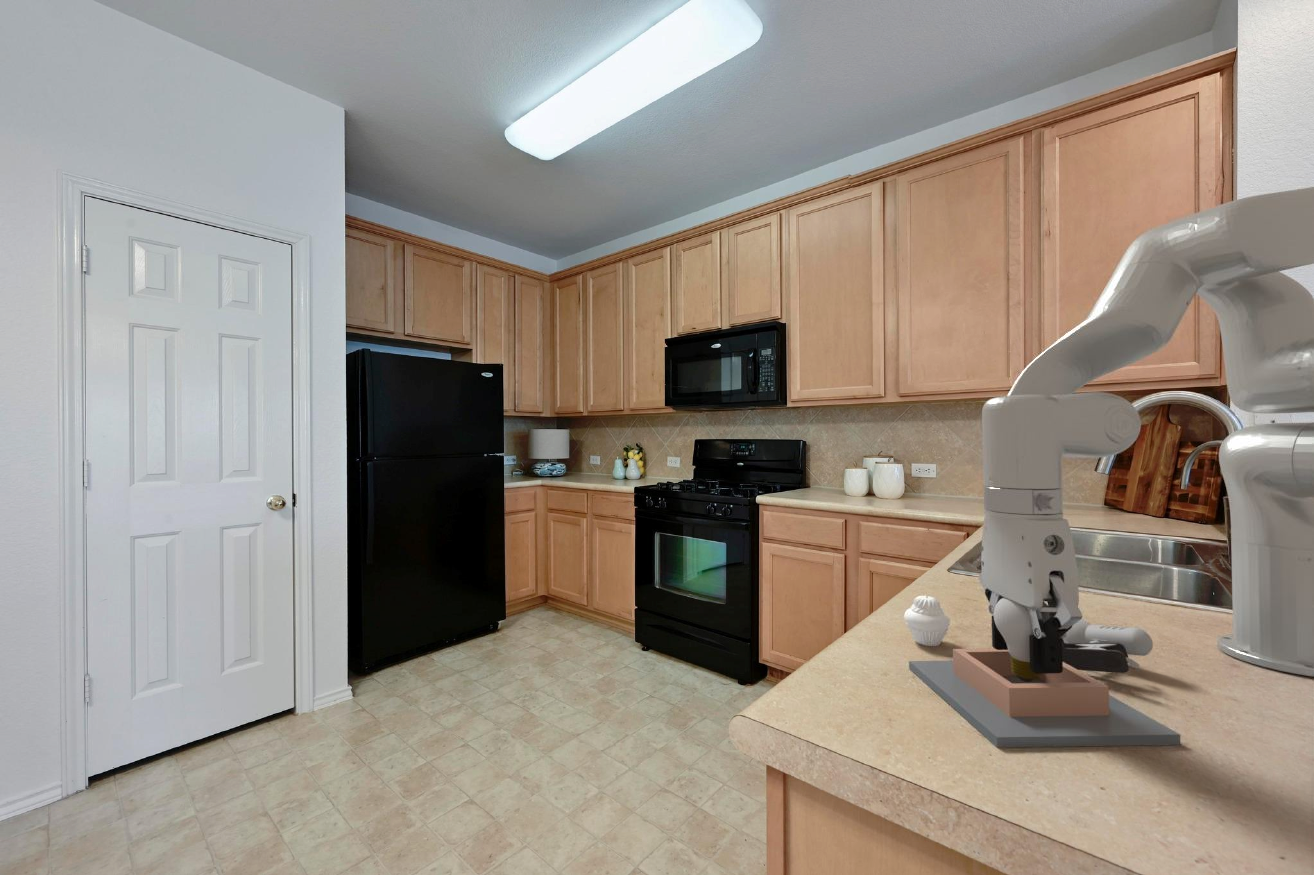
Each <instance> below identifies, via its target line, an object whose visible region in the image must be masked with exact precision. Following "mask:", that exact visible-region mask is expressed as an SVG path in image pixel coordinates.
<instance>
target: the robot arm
mask: <svg viewBox="0 0 1314 875" xmlns="http://www.w3.org/2000/svg"><path fill="white" fill-rule="evenodd" d="M1309 265H1314V186H1311V187H1310V186H1309V187H1304V188H1303V187H1302V188H1297V189H1292V190H1291V189H1290V190H1285V191H1276V192H1271V193H1270V192H1269V193H1264V194H1257V195H1253V196H1245V197H1242V198H1239V199H1235V200H1232V201H1231V200H1230V201H1228V202H1225V203H1222V204H1219V205H1215V206H1214V207H1210V208H1207V209H1204V210H1202V211H1199V212H1196V213H1192V214H1190V215H1186V216H1183V217H1180V218H1178V219H1175V220H1172V221H1169V222H1166V223H1164V224H1161V225H1158V226H1156V227H1154V228H1151V229H1150V230H1147V231H1146V232H1143V233H1142V234H1140V235H1139V236H1138V237H1136V238H1135V239H1134V241H1132V243H1131V244H1130V245H1129V246H1128V247H1127V250H1126V251H1125V252H1124V253H1123V255H1122V258H1121V259H1120V260H1119V262H1118V264H1117V266H1116V268H1115V269H1114V271H1113V273H1112V275H1111V276H1110V278H1109V280H1108V281H1107V283H1106V285H1105V287H1104V289H1103V291H1102V292H1101V294H1100V296H1099V298H1098V299H1097V301H1096V302H1095V304H1094V306H1093V308H1092V309H1091V311H1090V313H1089V314H1088V316H1087V317H1086V318H1085V319H1084V320H1083V321H1082V322H1080V323H1079V324H1078V325H1077V326H1075V327H1073V328H1072V329H1071V330H1070V331H1068V332H1067V333H1065V334H1064V335H1063V336H1062V337H1060V338H1059V339H1058V340H1056V341H1055V342H1054V343H1053V344H1052V345H1050V346H1049V347H1048V348H1047V349H1045V350H1044V351H1042V352H1041V353H1039V355H1038V356H1037V357H1035V358H1034V359H1033V360H1032V361H1031V362H1030V363H1029V364H1028V365H1027V366H1026V367H1025V368H1024V369H1023V371H1022V372H1021V373H1020V374H1019V375H1018V377H1017V379H1015V381H1014V383H1013V385H1012V387H1011V388H1010V390H1009V392H1008V394H1007V395H1002V396H996V397H992V398H990V399H988V400H987V401H986V402H985V403H984V404H983V407H982V409H981V410H982V412H981V418H982V419H981V422H982V425H981V426H982V427H981V428H982V432H981V433H982V465H983V466H982V467H983V468H982V469H983V470H982V471H983V475H982V476H983V477H982V478H983V480H982V481H983V508H984V509H983V513H984V518H983V519H984V520H983V526H982V537H981V539H982V540H981V557H980V558H981V560H980V561H981V563H980V564H981V572H980V574H979V575H978V580H979V583H980V585H981V587H982V588H983V590H984V595H985V597H986V599H987V601H988V612H989V613H990V615H991V624H992V627H991V645H992V647H993V648H995V649H996V650H1008V647H1007V644H1006V641H1005V640H1004V638H1003V636H1002V635H1001V633H1000V632H999V630H998V629H997V627H996V624H995V621H994V609H995V606H996V604H997V603H998V601H999V600H1000V599H1002V598H1003V597H1005V598H1008V599H1010V600H1012V601H1014V602H1016V603H1018V604H1020V605H1022V606H1024V607H1027V608H1028V612H1029V616H1030V620H1031V624H1032V628H1033V632H1034V635H1029V649H1030V670H1031V671H1032V672H1034V673H1036V674H1049V673H1061V672H1062V671H1063V658H1062V638H1065V637H1066V636H1067V633H1066V632H1067V631H1069V630H1070V629H1071V628H1072V625H1074V624H1076V623H1077V622H1078V621H1080V620H1081V619H1083V613H1082V612H1081V610H1080V608H1079V602H1080V597H1079V596H1080V593H1079V592H1080V591H1079V590H1080V589H1079V577H1078V576H1079V575H1078V565H1077V558H1076V551H1075V545H1074V540H1073V536H1072V531H1071V527H1070V525H1069V520H1068V519H1067V518H1064V495H1063V494H1064V490H1063V488H1064V485H1063V484H1064V483H1063V481H1064V480H1063V458H1065V457H1066V458H1081V459H1082V458H1084V459H1085V458H1087V459H1090V458H1094V459H1096V458H1105V457H1106V458H1107V457H1108V458H1109V457H1111V456H1115V455H1117V454H1121V453H1123V452H1124V451H1126V450H1127V449H1129V448H1130V447H1132V445H1134V443H1135V442H1136V441H1137V439H1138V437H1139V435H1140V432H1141V428H1142V423H1141V422H1142V421H1141V416H1140V414H1139V412H1138V410H1137V408H1135V406H1134V405H1133V404H1132V403H1131V402H1130V401H1128V400H1127V399H1125V398H1124V397H1121V396H1119V395H1116V394H1113V393H1110V392H1109V393H1108V392H1104V391H1103V392H1102V391H1093V392H1090V391H1089V392H1080V393H1079V392H1078V393H1075V392H1077V391H1078V390H1079V389H1081V388H1083V387H1085V385H1088V384H1089V383H1092V382H1093V381H1095V380H1097V379H1099V378H1101V377H1103V376H1105V375H1108V374H1111V373H1113V372H1115V371H1118V370H1121V369H1122V368H1126V367H1128V366H1130V365H1132V364H1135V363H1137V362H1138V361H1141V360H1143V359H1145V358H1147V357H1148V356H1150V355H1153V354H1155V353H1156V352H1159V351H1160V350H1162V349H1163V348H1164V347H1166V345H1168V344H1169V342H1170V341H1171V339H1173V337H1174V334H1175V333H1176V330H1177V329H1178V327H1179V325H1180V323H1181V322H1182V320H1183V317H1184V316H1185V313H1186V312H1187V310H1188V308H1189V306H1190V305H1191V303H1192V301H1193V299H1194V297H1195V295H1197V296H1199V297H1200V298H1201V299H1203V300H1204V301H1205V303H1206V304H1208V305H1209V307H1210V308H1211V310H1213V312H1214V313H1215V315H1216V318H1217V321H1218V324H1219V330H1220V337H1221V342H1222V343H1221V345H1222V346H1221V347H1222V352H1223V362H1224V370H1225V377H1226V378H1225V379H1226V386H1227V391H1228V395H1229V399H1230V400H1231V403H1232V404H1233V405H1234V406H1235V407H1236V408H1238V410H1241V411H1244V412H1247V413H1253V414H1299V413H1300V414H1302V413H1305V414H1306V413H1314V297H1313V295H1312V292H1310V291H1309V290H1308V289H1307V288H1306V287H1305V286H1303V284H1301V283H1300V282H1298V281H1296V280H1295V279H1293V278H1292V277H1290V276H1289V275H1287V274H1284V273H1283V272H1281V271H1287V270H1291V269H1294V268H1296V269H1297V268H1300V267H1305V266H1309ZM1218 462H1219V467H1220V471H1221V474H1222V478H1223V481H1224V484H1225V487H1226V492H1227V497H1228V504H1229V511H1230V512H1229V513H1230V534H1231V535H1230V538H1231V539H1230V540H1231V542H1230V543H1231V544H1230V545H1231V547H1230V548H1231V593H1232V634H1231V633H1230V634H1222V635H1221V636H1220V635H1219V637H1217V640H1216V641H1217V647H1218V649H1219V650H1220V651H1222V652H1223V653H1225V654H1227V655H1229V656H1231V657H1233V658H1236V659H1238V660H1241V661H1243V662H1245V663H1246V662H1247V663H1250V664H1253V665H1257V666H1261V667H1263V668H1268V669H1271V670H1276V671H1279V672H1284V673H1290V674H1294V675H1301V676H1307V677H1312V678H1313V677H1314V422H1312V421H1311V422H1279V423H1265V424H1262V423H1261V424H1257V425H1250V426H1245V427H1243V428H1239V429H1237V430H1235V431H1233V432H1231V433H1230V434H1229V435H1227V436H1226V437H1225V438H1224V439H1223V441H1222V442H1221V444H1220V447H1219V450H1218ZM1043 601H1044V602H1046V604H1047V605H1048V607H1043V606H1044V605H1043ZM1041 613H1049V616H1050V618H1049V619H1048V620H1047V621H1046V622H1044V623H1043V620H1042V616H1041Z"/></svg>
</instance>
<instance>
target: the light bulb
mask: <svg viewBox="0 0 1314 875" xmlns="http://www.w3.org/2000/svg"><path fill="white" fill-rule="evenodd" d="M1043 605H1044V606H1043V607H1048V603H1047V602H1046V601H1043ZM1041 616H1042V620H1043V623H1044V622H1046V621H1047V620H1048V619H1049V618H1050V616H1049V613H1041ZM994 621H995V624H996V627H997V629H998V630H999V632H1000V633H1001V635H1002V636H1003V638H1004V640H1005V641H1006V644H1007V647H1008V651H1009V653H1010V655H1011V663H1012V664H1011V666H1012V667H1011V668H1012V673H1013V674H1015V675H1016V676H1017V677H1018V678H1019V679H1020V680H1022V681H1025V682H1030V681H1032V680H1034V679H1036V678H1039V674H1036V673H1034V672H1032V671H1031V670H1030V649H1029V635H1034V632H1033V628H1032V624H1031V620H1030V616H1029V612H1028V608H1027V607H1024V606H1022V605H1020V604H1018V603H1016V602H1014V601H1012V600H1010V599H1008V598H1005V597H1003V598H1002V599H1000V600H999V601H998V603H997V604H996V606H995V609H994Z"/></svg>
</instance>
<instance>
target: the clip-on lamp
mask: <svg viewBox="0 0 1314 875" xmlns="http://www.w3.org/2000/svg"><path fill="white" fill-rule="evenodd" d="M990 627H991V628H992V623H991V624H990ZM1066 633H1067V636H1066V637H1065V638H1062V658H1063V662H1064V663H1066V664H1068V665H1070V666H1072V667H1073V668H1075V669H1077V670H1079V671H1087V672H1100V673H1101V672H1102V673H1113V674H1115V673H1116V674H1127V673H1128V672H1129V670H1130V666H1129V665H1131V666H1132V667H1133V668H1134V669H1136V670H1137V669H1139V668H1140V664H1139V663H1137V662H1136V661H1135V660H1134V659H1132V658H1129V655H1130V656H1140V657H1141V656H1142V657H1145V656H1148V655H1150V653H1151V652H1152V650H1153V648H1154V643H1153V640H1152V637H1151V636H1150V634H1149V633H1147V632H1146V631H1145V630H1144V629H1142V628H1140V627H1131V626H1117V625H1101V624H1092V623H1090V622H1089V621H1087V620H1085V619H1083V618H1082V619H1081V620H1080V621H1078V622H1077V623H1076V624H1074V625H1072V628H1071V629H1070V630H1069V631H1067V632H1066Z"/></svg>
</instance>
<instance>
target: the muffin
mask: <svg viewBox="0 0 1314 875" xmlns="http://www.w3.org/2000/svg"><path fill="white" fill-rule="evenodd" d="M903 616H904V622H906V624H905V625H906V626H907V628H908V630H909V632H910V633H911V636H912V639H914V641H915V643H917V644H919V645H922V646H927V647H936V646H937V647H938V646H940V644H941V642H942V641H943V639H944V638H945V636H946V635H947V633H948V631H949V627H950V624H951V620H950V617H949V616H948V614H946V613H945V612H944V609H943V608H942V607H941V604H940V601H939V600H938V599H936V598H935V597H933V596H929V595H927V594H925V595H919V596H917V597H915V598H914V599H913V603H912V605H911V606H910V607H909V608H908V609H906V610H905V612H904V615H903Z"/></svg>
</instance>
